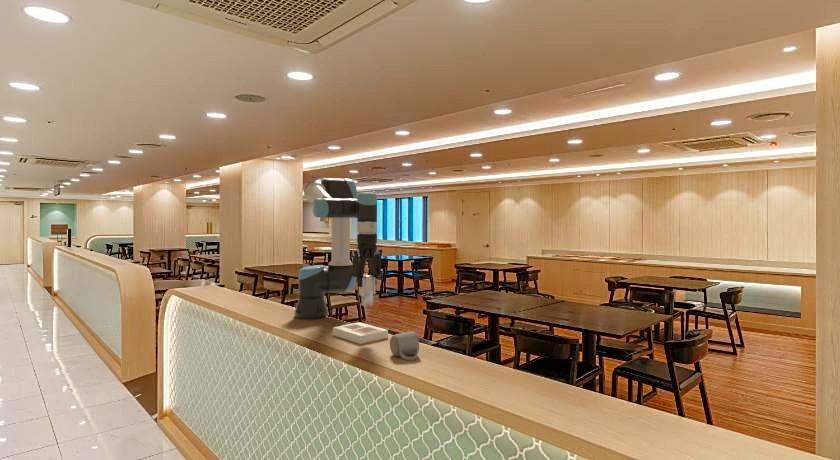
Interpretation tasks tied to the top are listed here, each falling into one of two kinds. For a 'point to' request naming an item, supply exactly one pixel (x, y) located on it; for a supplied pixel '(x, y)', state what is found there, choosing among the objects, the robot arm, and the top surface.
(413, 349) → the ceramic mug
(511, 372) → the top surface
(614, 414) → the top surface
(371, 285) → the pin
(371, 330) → the pin board
